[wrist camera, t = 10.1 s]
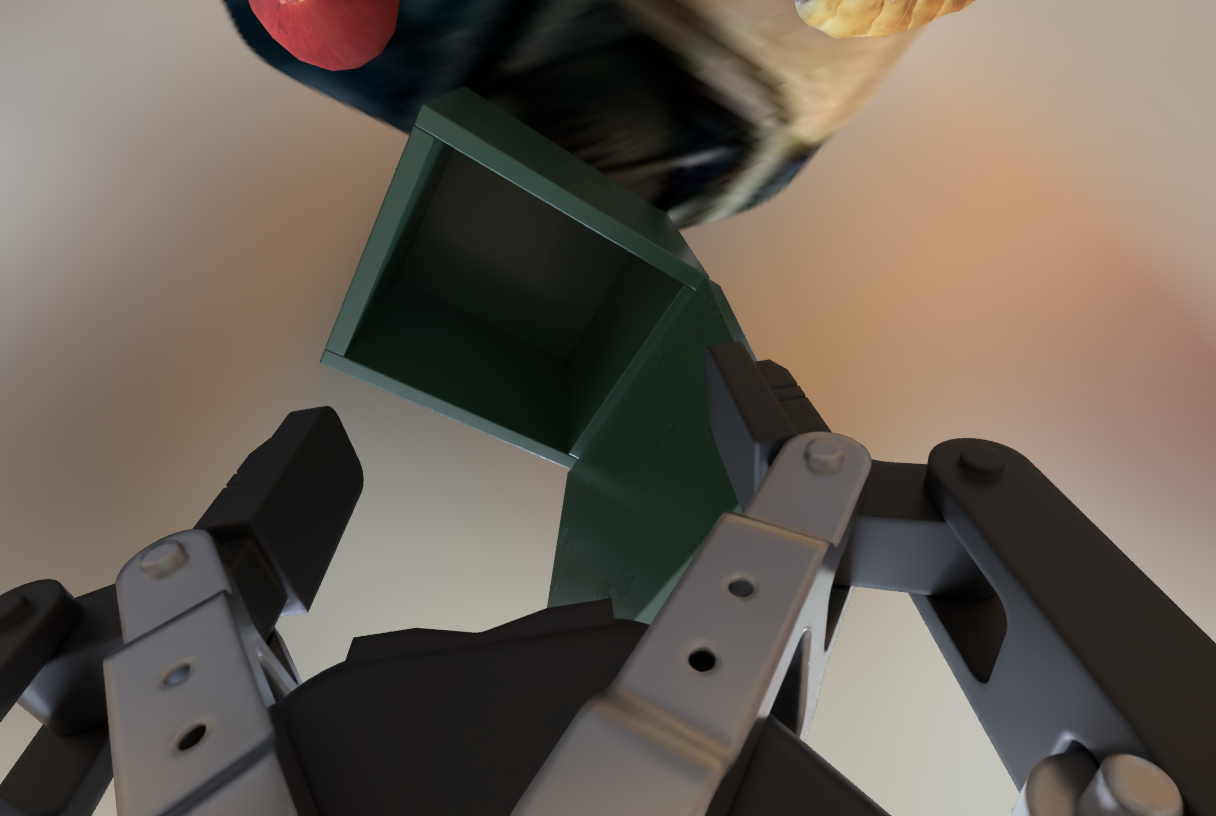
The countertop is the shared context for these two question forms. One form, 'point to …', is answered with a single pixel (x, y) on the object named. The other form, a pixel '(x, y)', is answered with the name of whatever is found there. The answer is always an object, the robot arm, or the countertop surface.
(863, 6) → the pastry
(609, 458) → the lid
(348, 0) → the onion
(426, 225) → the box
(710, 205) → the countertop surface
